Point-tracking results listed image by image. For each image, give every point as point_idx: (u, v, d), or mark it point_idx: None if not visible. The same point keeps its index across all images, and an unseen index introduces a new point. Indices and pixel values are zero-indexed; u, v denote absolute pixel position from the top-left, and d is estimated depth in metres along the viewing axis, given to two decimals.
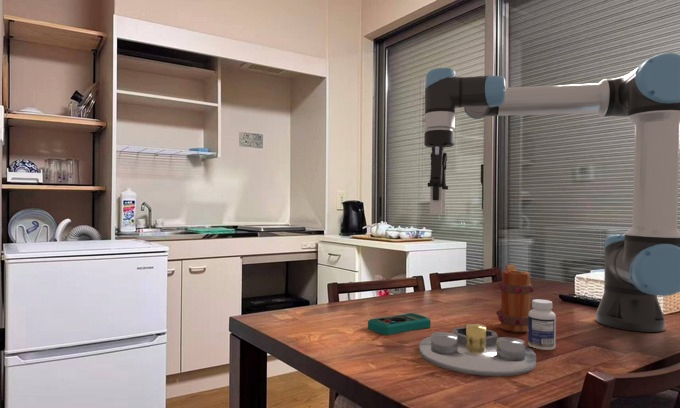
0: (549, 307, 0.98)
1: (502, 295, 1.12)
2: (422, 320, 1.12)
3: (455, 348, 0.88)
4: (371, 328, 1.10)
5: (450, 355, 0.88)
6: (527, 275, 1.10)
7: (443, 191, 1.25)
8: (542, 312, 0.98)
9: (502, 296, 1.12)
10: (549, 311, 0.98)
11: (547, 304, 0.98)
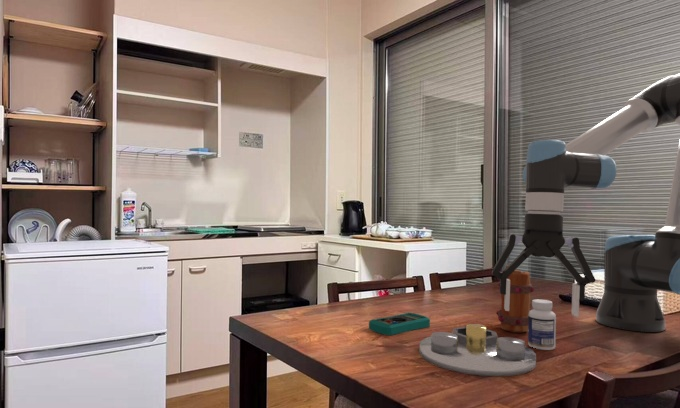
0: (549, 307, 0.98)
1: (502, 295, 1.12)
2: (422, 319, 1.13)
3: (455, 348, 0.88)
4: (373, 329, 1.09)
5: (450, 355, 0.88)
6: (527, 275, 1.10)
7: (575, 287, 0.97)
8: (542, 312, 0.98)
9: (502, 296, 1.12)
10: (549, 311, 0.98)
11: (547, 304, 0.98)
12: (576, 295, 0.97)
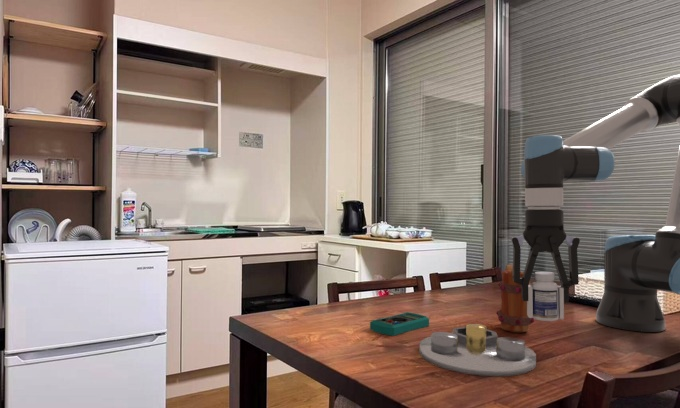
0: (551, 278, 0.98)
1: (502, 295, 1.12)
2: (422, 319, 1.13)
3: (455, 348, 0.88)
4: (375, 329, 1.09)
5: (450, 355, 0.88)
6: None
7: (559, 290, 0.98)
8: (545, 283, 0.98)
9: (502, 296, 1.12)
10: (552, 282, 0.98)
11: (549, 275, 0.98)
12: (560, 298, 0.98)
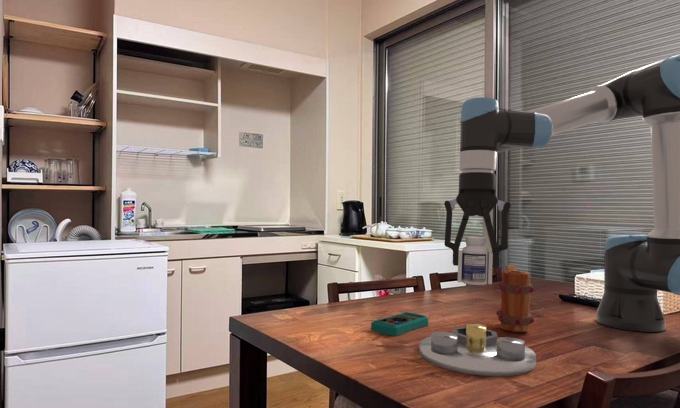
0: (481, 242, 0.97)
1: (502, 295, 1.12)
2: (422, 319, 1.14)
3: (455, 348, 0.88)
4: (376, 330, 1.08)
5: (450, 355, 0.88)
6: (527, 275, 1.10)
7: (488, 254, 0.97)
8: (474, 247, 0.97)
9: (502, 296, 1.12)
10: (481, 246, 0.97)
11: (479, 239, 0.97)
12: (489, 262, 0.97)
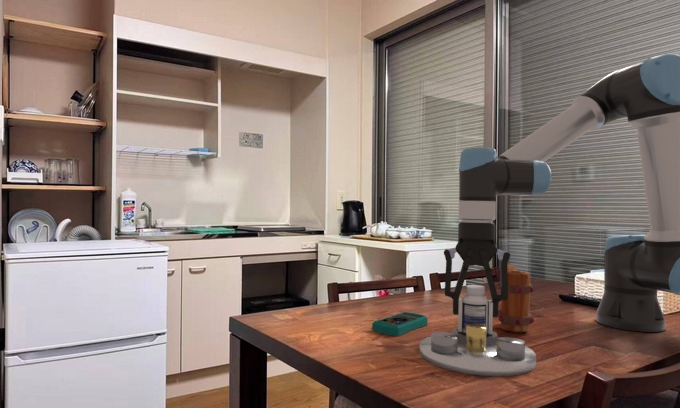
0: (481, 292, 0.97)
1: None
2: (421, 318, 1.14)
3: (455, 348, 0.88)
4: (378, 330, 1.08)
5: (450, 355, 0.88)
6: (527, 275, 1.10)
7: None
8: (474, 297, 0.97)
9: None
10: (481, 296, 0.97)
11: (479, 289, 0.97)
12: (489, 312, 0.97)
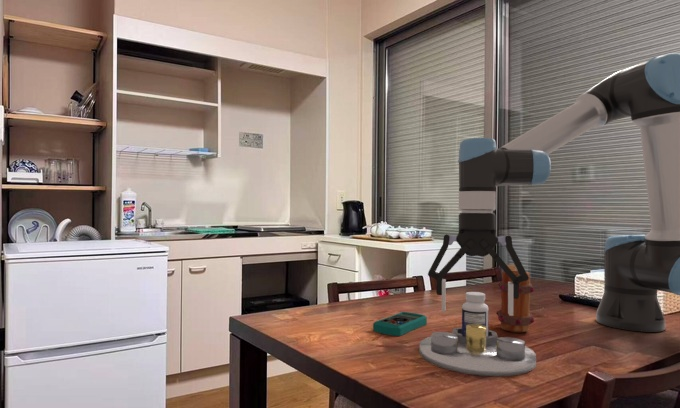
0: (481, 299, 0.97)
1: (502, 295, 1.12)
2: (421, 318, 1.14)
3: (455, 348, 0.88)
4: (379, 330, 1.08)
5: (450, 355, 0.88)
6: None
7: (509, 285, 0.96)
8: (474, 304, 0.97)
9: (502, 296, 1.12)
10: (481, 303, 0.97)
11: (479, 296, 0.97)
12: (510, 294, 0.96)
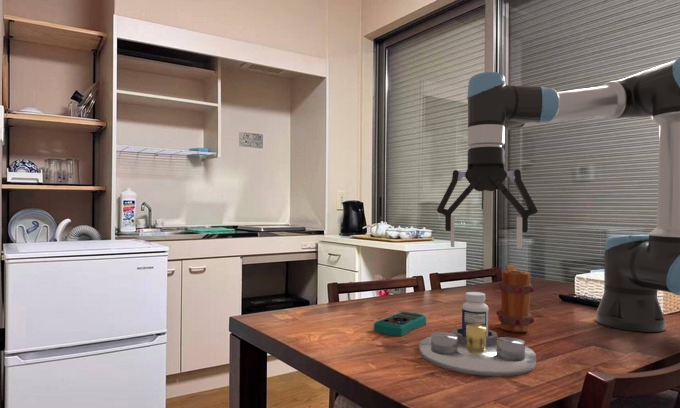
0: (481, 299, 0.97)
1: (502, 295, 1.12)
2: (421, 318, 1.15)
3: (455, 348, 0.88)
4: (380, 330, 1.08)
5: (450, 355, 0.88)
6: (527, 275, 1.10)
7: (518, 219, 0.97)
8: (474, 304, 0.97)
9: (502, 296, 1.12)
10: (481, 303, 0.97)
11: (479, 296, 0.97)
12: (519, 227, 0.96)
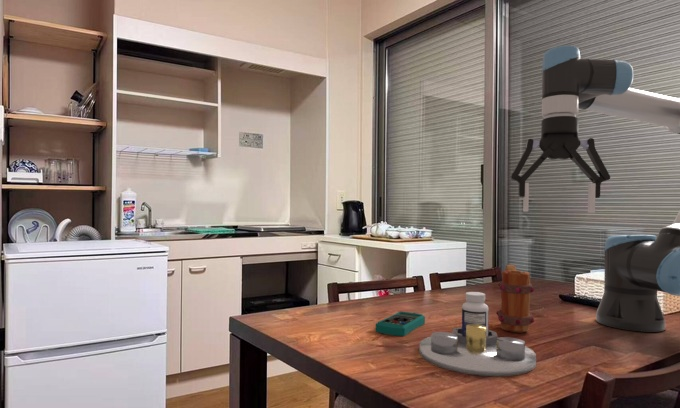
0: (481, 299, 0.97)
1: (502, 295, 1.12)
2: (420, 317, 1.15)
3: (455, 348, 0.88)
4: (383, 331, 1.07)
5: (450, 355, 0.88)
6: (527, 275, 1.10)
7: (591, 185, 1.02)
8: (474, 304, 0.97)
9: (502, 296, 1.12)
10: (481, 303, 0.97)
11: (479, 296, 0.97)
12: (592, 192, 1.02)
